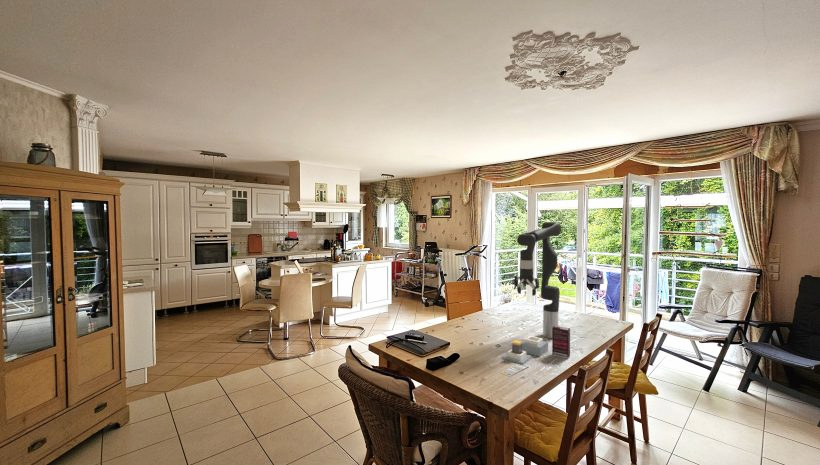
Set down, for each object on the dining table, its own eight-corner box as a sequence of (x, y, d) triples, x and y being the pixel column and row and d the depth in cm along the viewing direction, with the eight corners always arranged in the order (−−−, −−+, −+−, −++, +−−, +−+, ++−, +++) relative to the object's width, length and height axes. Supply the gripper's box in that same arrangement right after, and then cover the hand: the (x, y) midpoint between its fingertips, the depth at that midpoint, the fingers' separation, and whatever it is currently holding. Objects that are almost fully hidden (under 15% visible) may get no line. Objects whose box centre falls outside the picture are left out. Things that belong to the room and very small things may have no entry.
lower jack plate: (501, 358, 181) (501, 352, 181) (511, 352, 190) (511, 346, 190) (523, 364, 173) (523, 357, 173) (532, 357, 182) (532, 351, 182)
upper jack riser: (519, 351, 192) (519, 339, 191) (527, 345, 201) (527, 334, 200) (540, 356, 184) (540, 344, 183) (548, 350, 193) (548, 338, 192)
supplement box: (570, 356, 184) (570, 328, 184) (568, 359, 180) (568, 330, 180) (553, 352, 189) (554, 325, 189) (551, 355, 186) (552, 327, 185)
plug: (511, 356, 181) (512, 341, 181) (514, 354, 184) (515, 340, 184) (518, 358, 178) (519, 343, 178) (521, 356, 181) (522, 341, 181)
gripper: (540, 267, 195) (540, 295, 195) (517, 265, 204) (517, 291, 205) (536, 269, 189) (535, 297, 190) (512, 267, 199) (512, 293, 199)
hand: (526, 294), depth 197 cm, fingers open, 8 cm apart
